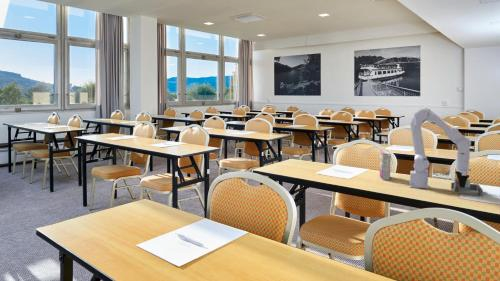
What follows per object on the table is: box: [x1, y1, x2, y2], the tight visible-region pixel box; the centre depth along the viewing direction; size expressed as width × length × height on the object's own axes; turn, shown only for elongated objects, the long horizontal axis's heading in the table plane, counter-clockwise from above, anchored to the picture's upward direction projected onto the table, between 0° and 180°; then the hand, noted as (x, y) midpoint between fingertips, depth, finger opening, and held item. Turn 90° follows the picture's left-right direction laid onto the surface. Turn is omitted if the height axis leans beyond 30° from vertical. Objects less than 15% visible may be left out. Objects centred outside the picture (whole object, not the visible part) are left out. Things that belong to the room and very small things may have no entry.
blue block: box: [453, 178, 471, 193], centre depth 199 cm, size 4×7×6 cm, turn 67°
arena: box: [450, 181, 484, 197], centre depth 199 cm, size 13×12×3 cm
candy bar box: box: [379, 150, 392, 181], centre depth 232 cm, size 11×5×16 cm, turn 168°
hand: (461, 186), depth 199 cm, fingers open, 5 cm apart
